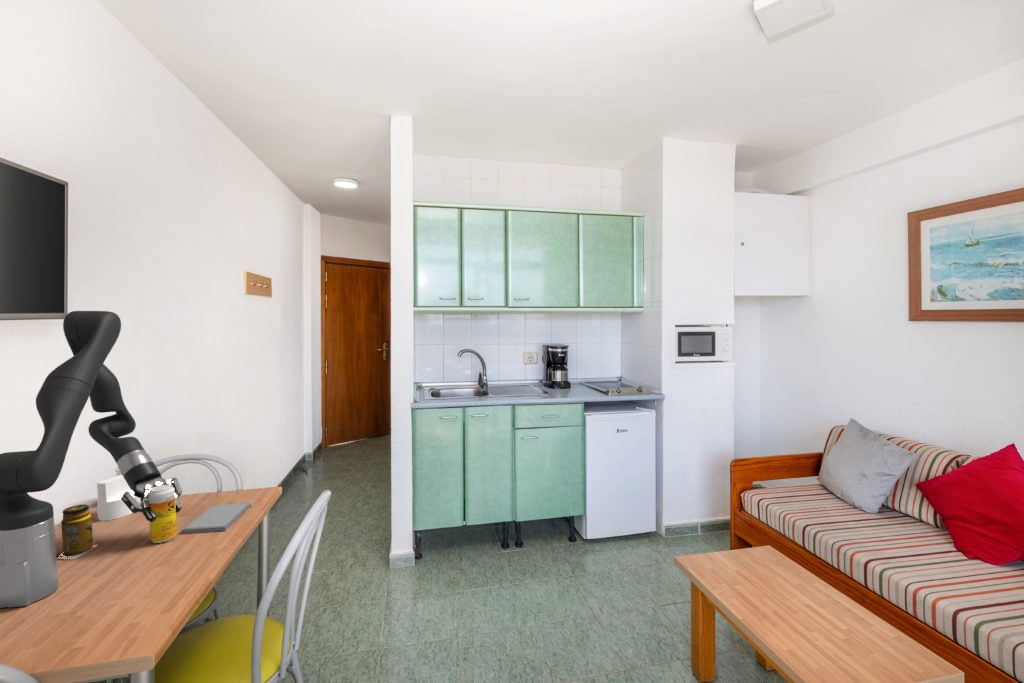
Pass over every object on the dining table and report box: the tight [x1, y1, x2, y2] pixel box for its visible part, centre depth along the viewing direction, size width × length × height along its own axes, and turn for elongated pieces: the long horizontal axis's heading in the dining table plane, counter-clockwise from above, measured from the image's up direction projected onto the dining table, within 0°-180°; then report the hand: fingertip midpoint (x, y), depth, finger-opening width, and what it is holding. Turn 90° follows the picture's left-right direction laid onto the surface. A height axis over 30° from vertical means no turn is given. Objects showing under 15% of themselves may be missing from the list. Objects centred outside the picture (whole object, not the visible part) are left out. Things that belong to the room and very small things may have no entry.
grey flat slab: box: [180, 502, 252, 535], centre depth 146 cm, size 18×12×1 cm, turn 7°
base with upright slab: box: [96, 475, 132, 522], centre depth 150 cm, size 9×9×12 cm
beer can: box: [148, 485, 178, 544], centre depth 132 cm, size 6×6×15 cm
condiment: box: [56, 504, 97, 561], centre depth 126 cm, size 7×8×12 cm
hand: (166, 515), depth 132 cm, fingers closed on beer can, 6 cm apart
